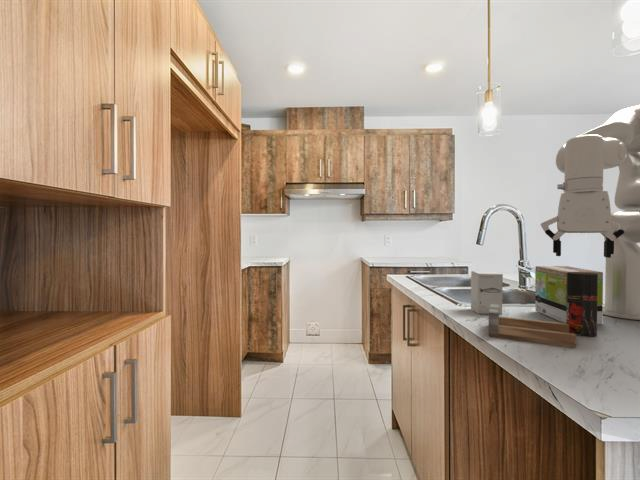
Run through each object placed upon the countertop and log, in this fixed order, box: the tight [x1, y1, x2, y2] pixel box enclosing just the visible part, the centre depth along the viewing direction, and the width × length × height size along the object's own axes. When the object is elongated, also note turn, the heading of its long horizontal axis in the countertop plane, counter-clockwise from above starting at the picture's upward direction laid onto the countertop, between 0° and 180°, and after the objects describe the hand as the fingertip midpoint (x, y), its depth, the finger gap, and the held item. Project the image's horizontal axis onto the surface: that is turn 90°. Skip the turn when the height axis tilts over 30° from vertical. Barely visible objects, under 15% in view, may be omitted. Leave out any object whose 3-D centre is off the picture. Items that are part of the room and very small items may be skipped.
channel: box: [488, 303, 577, 349], centre depth 82 cm, size 12×17×6 cm
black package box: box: [567, 272, 598, 338], centre depth 83 cm, size 6×6×15 cm
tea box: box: [534, 265, 604, 325], centre depth 98 cm, size 15×10×15 cm, turn 177°
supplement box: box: [470, 270, 504, 316], centre depth 106 cm, size 7×7×13 cm
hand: (582, 256), depth 82 cm, fingers open, 9 cm apart
